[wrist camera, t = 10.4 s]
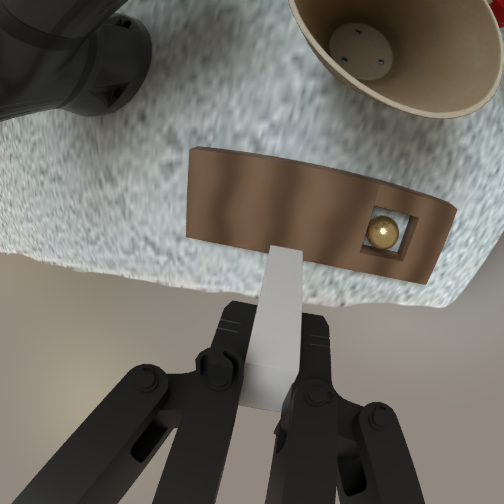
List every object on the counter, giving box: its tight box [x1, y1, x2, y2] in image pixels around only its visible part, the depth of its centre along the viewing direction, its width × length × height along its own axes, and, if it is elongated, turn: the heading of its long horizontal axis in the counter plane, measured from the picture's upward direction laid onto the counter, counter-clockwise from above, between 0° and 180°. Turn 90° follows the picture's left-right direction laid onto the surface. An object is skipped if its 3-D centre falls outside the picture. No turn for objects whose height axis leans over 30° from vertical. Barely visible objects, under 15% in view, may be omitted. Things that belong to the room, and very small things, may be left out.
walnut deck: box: [186, 147, 457, 285], centre depth 31 cm, size 32×11×2 cm, turn 83°
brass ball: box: [366, 215, 399, 250], centre depth 29 cm, size 4×4×4 cm
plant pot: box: [288, 0, 504, 119], centre depth 15 cm, size 15×15×16 cm
